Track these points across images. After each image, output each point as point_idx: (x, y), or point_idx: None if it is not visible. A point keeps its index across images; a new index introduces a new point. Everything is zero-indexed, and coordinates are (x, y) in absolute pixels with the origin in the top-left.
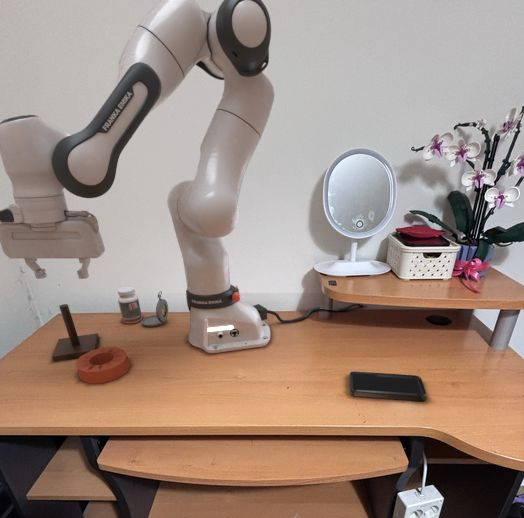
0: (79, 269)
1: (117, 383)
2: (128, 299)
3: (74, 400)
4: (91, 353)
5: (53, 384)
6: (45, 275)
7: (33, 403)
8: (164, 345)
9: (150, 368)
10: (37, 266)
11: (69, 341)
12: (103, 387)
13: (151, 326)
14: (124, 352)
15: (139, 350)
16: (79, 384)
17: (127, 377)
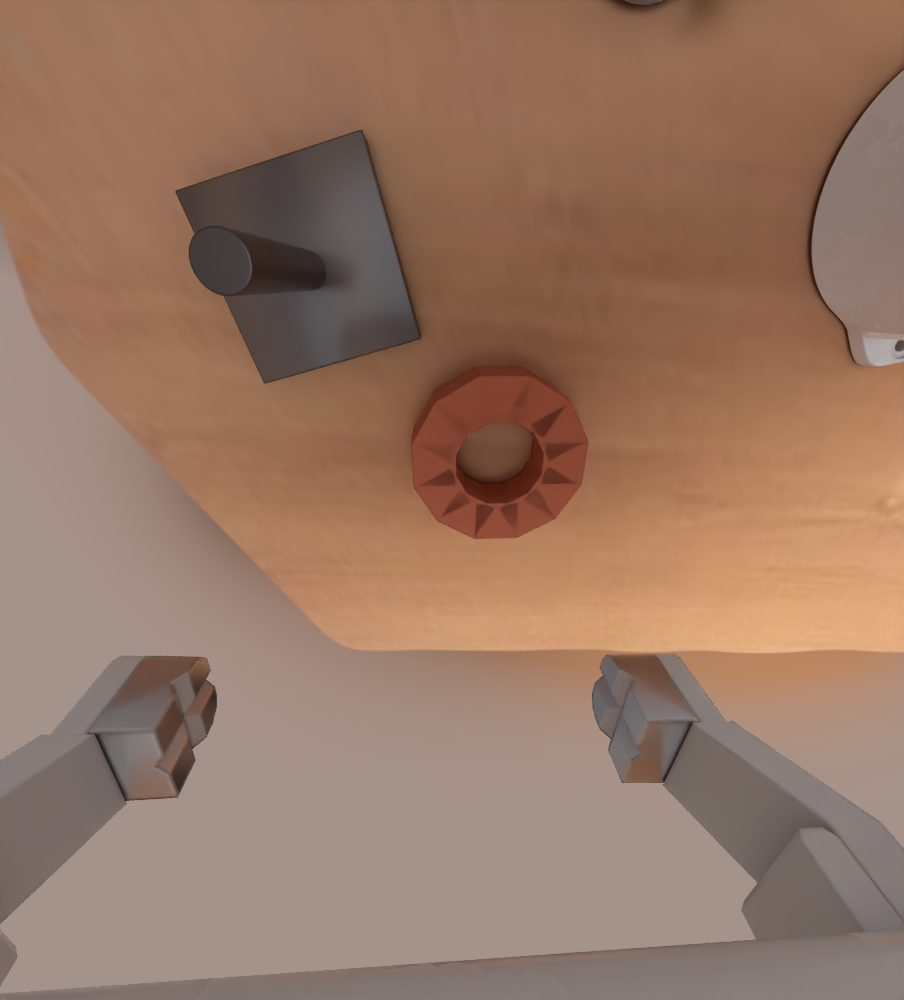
0: (640, 745)
1: None
2: None
3: (455, 580)
4: (447, 425)
5: (358, 514)
6: (199, 677)
7: (353, 587)
8: (698, 269)
9: (642, 446)
10: (52, 796)
11: (256, 233)
12: None
13: (644, 3)
14: (575, 426)
15: (594, 309)
16: None
17: None
